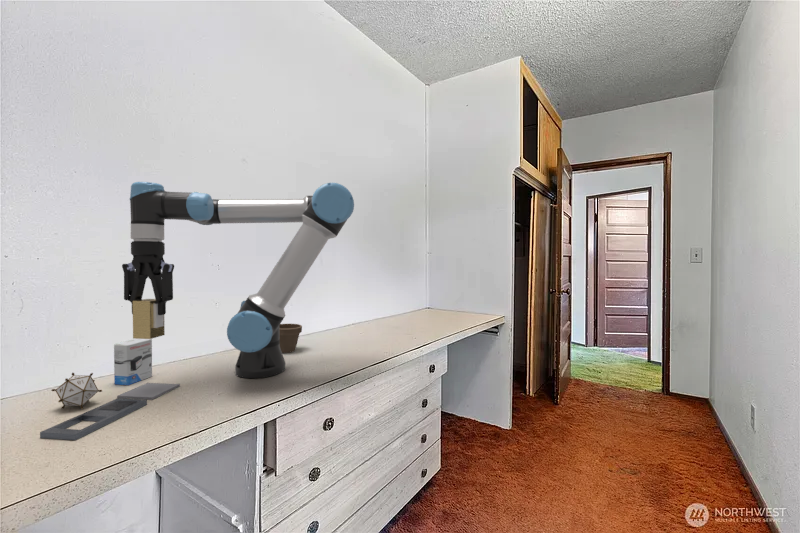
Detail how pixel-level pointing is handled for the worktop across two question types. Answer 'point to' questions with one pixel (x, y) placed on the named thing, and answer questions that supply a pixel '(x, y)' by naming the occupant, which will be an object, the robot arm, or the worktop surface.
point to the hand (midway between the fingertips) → (148, 326)
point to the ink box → (132, 361)
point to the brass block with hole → (145, 320)
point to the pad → (148, 391)
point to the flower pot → (289, 337)
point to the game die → (77, 390)
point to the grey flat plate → (93, 419)
